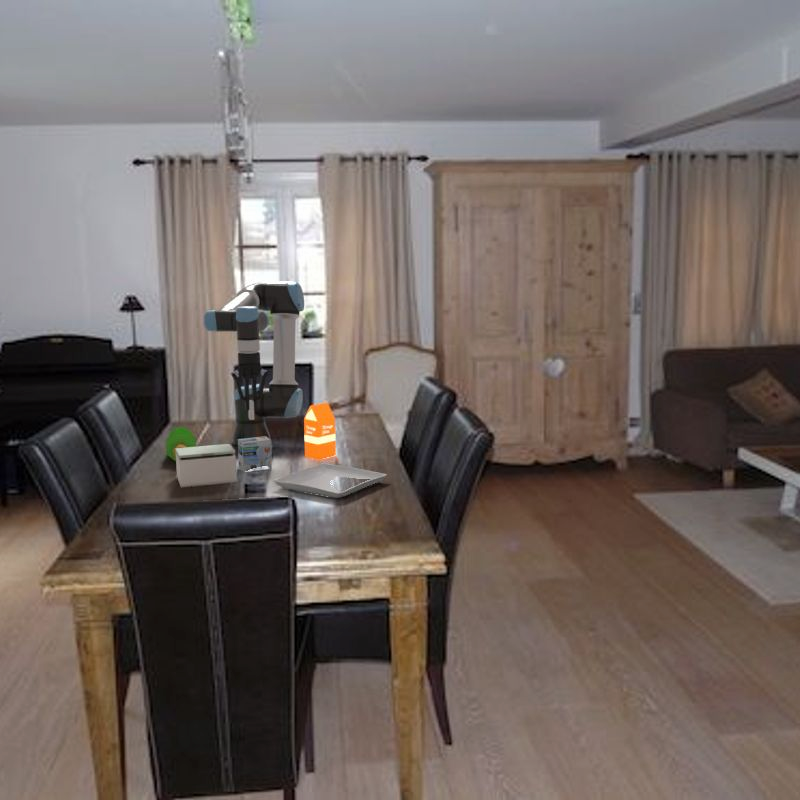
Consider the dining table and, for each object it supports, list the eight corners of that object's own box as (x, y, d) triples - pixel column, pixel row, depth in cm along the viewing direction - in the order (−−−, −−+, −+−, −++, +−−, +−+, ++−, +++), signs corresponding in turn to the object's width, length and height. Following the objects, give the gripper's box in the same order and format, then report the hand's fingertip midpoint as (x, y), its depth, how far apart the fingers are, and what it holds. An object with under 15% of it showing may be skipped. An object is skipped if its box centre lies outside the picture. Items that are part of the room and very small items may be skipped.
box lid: (229, 446, 281) (228, 443, 281) (235, 453, 268) (235, 450, 268) (175, 450, 275) (175, 448, 275) (179, 458, 262) (179, 455, 261)
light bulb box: (243, 473, 281) (242, 442, 279) (237, 468, 287) (236, 438, 285) (273, 469, 286) (272, 439, 284) (266, 465, 292) (265, 435, 290)
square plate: (340, 504, 246) (339, 492, 245) (271, 491, 260) (270, 479, 260) (388, 483, 268) (388, 472, 268) (322, 472, 283) (322, 461, 282)
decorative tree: (171, 433, 288) (172, 414, 316) (160, 462, 289) (161, 441, 317) (202, 443, 291) (200, 423, 320) (191, 472, 292) (190, 450, 321)
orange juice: (336, 456, 304) (335, 403, 301) (318, 460, 298) (317, 406, 294) (322, 452, 309) (321, 401, 306) (304, 456, 303) (303, 404, 300)
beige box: (230, 471, 282) (229, 446, 281) (236, 482, 270) (235, 455, 268) (176, 476, 276) (175, 451, 275) (180, 487, 263) (179, 460, 262)
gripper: (265, 349, 284) (268, 415, 288) (228, 351, 280) (231, 418, 284) (269, 352, 277) (272, 419, 282) (231, 354, 273) (234, 422, 277)
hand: (251, 418), depth 283 cm, fingers closed
